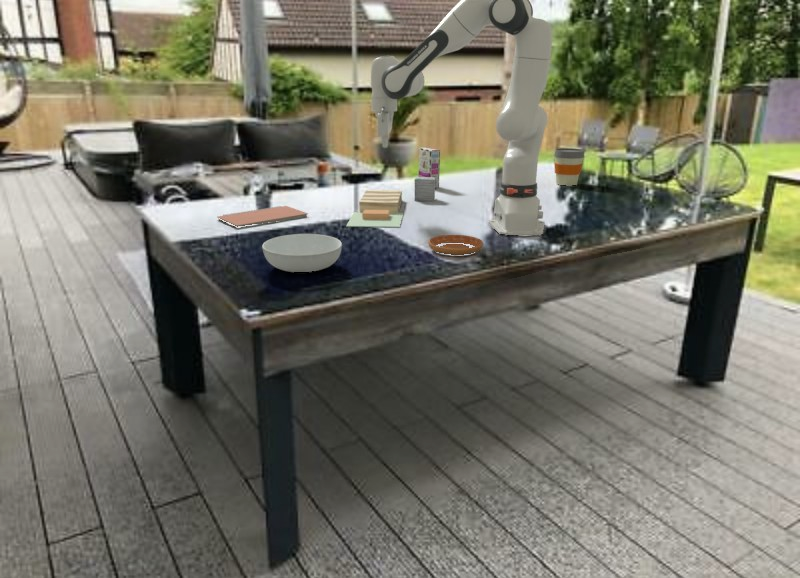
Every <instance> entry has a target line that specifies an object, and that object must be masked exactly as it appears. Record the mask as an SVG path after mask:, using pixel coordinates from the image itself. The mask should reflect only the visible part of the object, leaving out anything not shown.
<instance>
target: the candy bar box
mask: <svg viewBox="0 0 800 578" xmlns="http://www.w3.org/2000/svg"><path fill="white" fill-rule="evenodd" d="M440 159H441V149H437V148H432V147H418V177H434V178H435V188H437V189H440V165H441V160H440Z"/></svg>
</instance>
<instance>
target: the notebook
mask: <svg viewBox="0 0 800 578" xmlns="http://www.w3.org/2000/svg"><path fill="white" fill-rule="evenodd" d="M308 214H309V213H308V212H305V211H303V210H299V209H296V208H294V207H290V206H287V205H283V206H280V205H279V206H278V205H277V206H271V207H266V208H260V209H253V210H252V209H251V210H247V211H240V212H239V211H238V212H234V213H232V212H231V213H227V214H223V215H220V216H217V218H218V219H219V218H220V219H222V220H224V221H226V222H229V223H231V224H233V225H235V226H237V227H238V226H245V225H252V224H262V223H268V222H274V223H277V222H276V221H280V222H283V221H282V220H286V221H289V219H292V220H296V219H302V218H303V219H304V218H307V217H308ZM268 224H269V223H268ZM262 225H263V224H262Z"/></svg>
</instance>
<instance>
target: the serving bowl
mask: <svg viewBox="0 0 800 578" xmlns="http://www.w3.org/2000/svg"><path fill="white" fill-rule="evenodd" d="M261 248H262V252H263V255H264V259H266V261H267V262H268V263H269V264H270V265H271V266H272V267H274V268H276V269H279V270H281V271H284V272H290V273H294V272H309V273H313V272H312V271H314V272H316V271H322V270H323V269H326V268H329V267H331V266H332V265H333V264H335V263H336V261H338V259H339V257H340V256H341V253H342V248H343V243H342V242H341V240H340V239H338V238H336V237H333V236H330V235H325V234H319V233H318V234H317V233H297V234H295V233H293V234H286V235H280V236H276V237H273V238H271V239H268V240H266V241H264V242H263V244H262V246H261Z"/></svg>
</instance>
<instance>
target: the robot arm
mask: <svg viewBox="0 0 800 578" xmlns="http://www.w3.org/2000/svg"><path fill="white" fill-rule="evenodd" d="M533 14H534V10H533V6H532V3H531V1H530V0H459V2H458V3H457V4H456V5H454V6H453V8H452V9H451V10H450V11H449V12H448V13H447V14H446V16H444V17H443V19H442V20H441V21H440V22H439V23H438V25H437V26H436V27H435V29H433V30H432V32H431V33H430V34H429V35H428V36H427V37H426V38H425V39H424V40H423V41H422V42H421V43H420V44H418V46H417V47H416V48H414V50H413V51H411V52H410V53H409V54H408V55H407V57H405V58H404V59H403V60H402V61H400V60H399V59H397V58H396V57H395V56H394V55H391V54H389V55H382V56H379V57H378V56H377V57H376V58H374V59H373V60H372V63H371V69H370V85H371V91H372V92H371V95H370V97H371V100H370V101H371V102H370V103H371V112H373V113H375V115H374V116H375V117H376V118H377V119H376V120H377V123H376V124H377V125H376V126H377V127H376V128H377V137H381V145H382V148H383V149H384V148H385V149H387V148H388V146H389V135H390V133H391V132H392V130H393V121H394V120H393V119H394V116H395V115H394V114H395V113H394V112H397V111H398V100H400V99H403V98H407V97H412V96H415V95H417V94H419V93H420V92H422V90H423V88H424V86H425V76H424V73H423V71H425V69H426V68H427V67H428V66H429V65H431V63H433V62H434V61H435V60H437V58H439V57H441V56H444V55H447V54H451V53H453V52H456V51H459V50H461V49H463V48H464V47H466V45H469V43H471V42H472V41H473V40H474V39H475V38H476V37H478V35H479V34H480V33H481V32H482V31H483V30H484V29H485V28H486V27H487V26H489V25H493V27H495V28H496V29H497V30H499V31H502V32H504V33H507V34H508V35H511V36H514V40H515V47H514V55H513V61H512V62H513V63H512V68H511V69H512V70H511V77H510V81H509V87H508V90H507V93H506V97H505V99H504V103H503V105H502V109H501V112H500V114H499V115H498V116H497V119H496V122H495V126H496V127H495V128H496V131H497V134H498V135H499V136H500V138H502V139H503V140H505V141H508V145H507V148H506V151H505V153H504V156H503V158H502V159H503V160H502V177H501V178H502V180H501V181H500V187H499V193H500V195H499V196H498V197H497V198H496V199H495V200H494V208H493V209H494V212H493V219H490V220H488V222H487V224H488V225H489V226H490V227H491V228H492V229H493V230H494V229H495V230H496V231H497V232H498V233H499V234H498V233H497V232H496V231H495V230H494V231H495V232H496V233H497V234H498V235H500V234H505V235H504V236H507V235H539V236H542V235H541V234H543V235H544V231H543V230H545V226H546V221H544V220H543V218H544V211H541V210H542V207H543V206H542V205H541V204H540V203H541V199H540V198H538V197H537V196H538V183H537V176H538V175H537V173H538V161H539V157H540V156H539V155H540V151H541V148H542V145H543V144H542V143H543V138H544V134H545V130H546V127H547V126H548V122H549V119H548V118H549V117H548V113H547V112H546V110H545V109H544V108H543V107H542V106H540V105H539V104H540V101H541V98H542V96H543V93H544V91H545V89H546V88H547V83H548V76H549V70H550V63H551V57H552V48H553V47H552V46H553V35H552V34H553V32H552V31H553V29H552V26H551V24H550V23H549V22H548V21H547V20H545V19H543V18H536V17H534V15H533ZM541 219H542V220H541ZM544 225H545V226H544Z"/></svg>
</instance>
